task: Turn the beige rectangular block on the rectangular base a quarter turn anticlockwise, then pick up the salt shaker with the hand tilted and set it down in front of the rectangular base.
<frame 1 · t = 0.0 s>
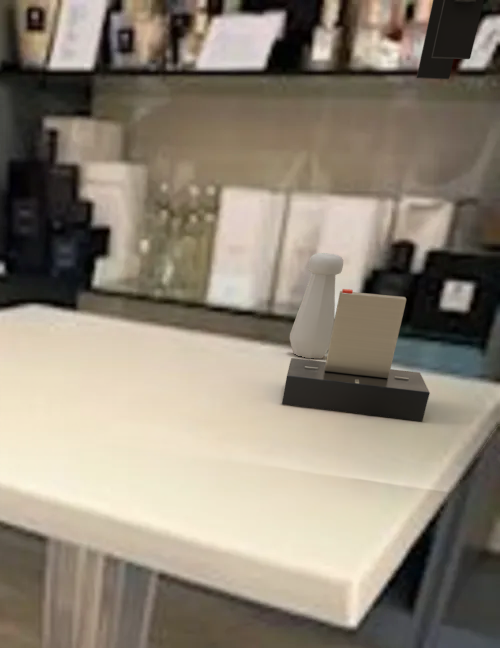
hand: (440, 69, 72), 30 cm above the table, tool pointing down, fingers open, 13 cm apart
salt shaker: (308, 357, 119), on the table
beige rectangular block: (364, 333, 92), point 7 cm above the table, hinge at 0.0°
rectangular base: (349, 401, 95), on the table
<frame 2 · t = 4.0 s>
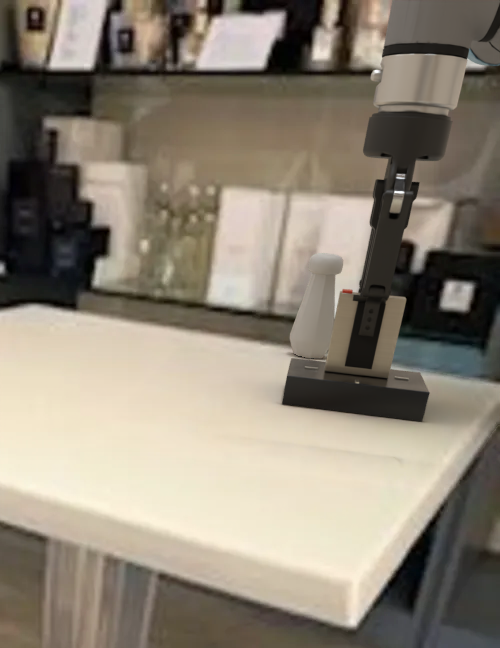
hand: (357, 364, 93), 4 cm above the table, tool pointing down, fingers closed on beige rectangular block, 2 cm apart
beige rectangular block: (364, 333, 92), point 7 cm above the table, hinge at -0.1°, touching gripper
everything else where it was.
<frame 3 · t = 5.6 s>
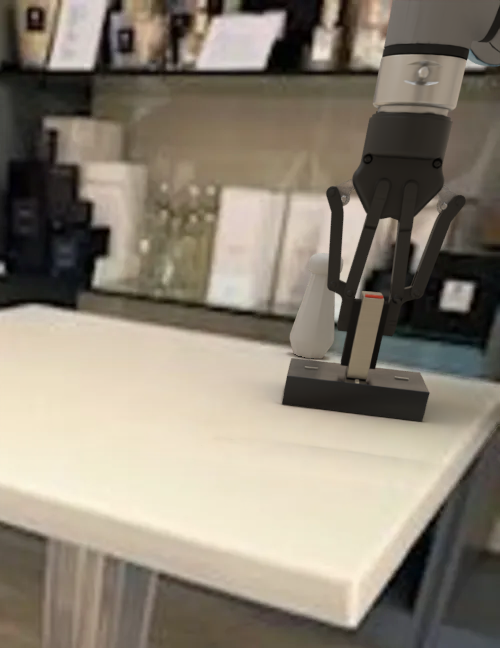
hand: (357, 364, 93), 4 cm above the table, tool pointing down, fingers closed on beige rectangular block, 2 cm apart
beige rectangular block: (364, 333, 92), point 7 cm above the table, hinge at 89.8°, touching gripper
everything else where it was.
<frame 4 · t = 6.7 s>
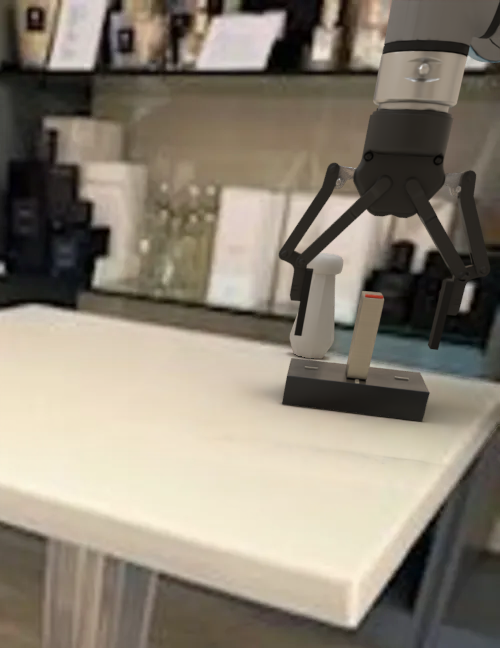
hand: (364, 341, 92), 6 cm above the table, tool pointing down, fingers open, 13 cm apart
beige rectangular block: (364, 333, 92), point 7 cm above the table, hinge at 89.8°
everything else where it was.
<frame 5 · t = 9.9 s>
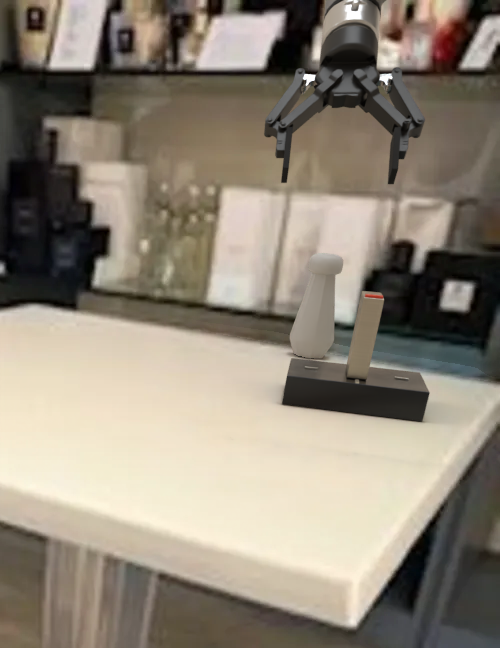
hand: (338, 176, 114), 22 cm above the table, tool tilted 40°, fingers open, 13 cm apart
nothing on the table moved.
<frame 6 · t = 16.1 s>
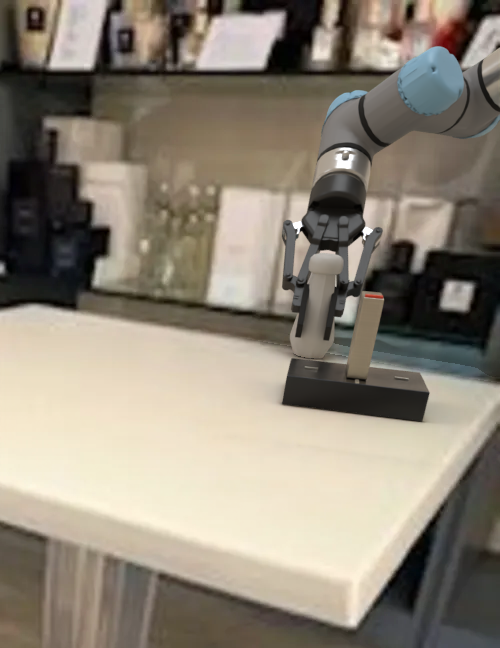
hand: (313, 332, 114), 4 cm above the table, tool tilted 45°, fingers closed on salt shaker, 3 cm apart
salt shaker: (308, 357, 119), on the table, touching gripper
everything else where it was.
when the fingers open (4 cm above the table, at t = 23.8 s): salt shaker stays where it is, on the table.
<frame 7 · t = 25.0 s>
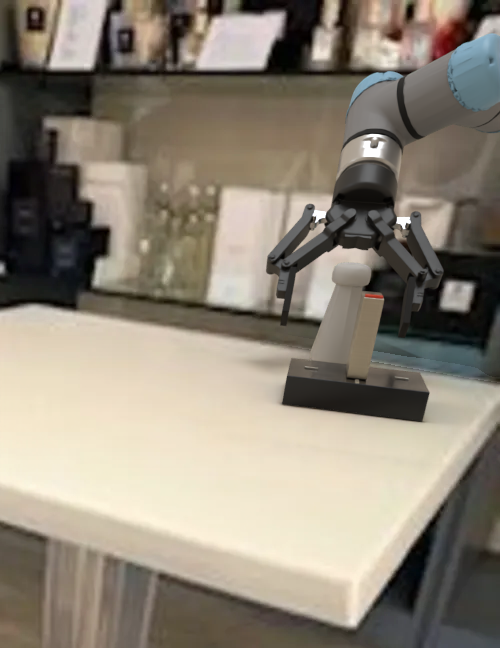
hand: (343, 324, 103), 6 cm above the table, tool tilted 45°, fingers open, 13 cm apart
salt shaker: (330, 377, 107), on the table
everything else where it was.
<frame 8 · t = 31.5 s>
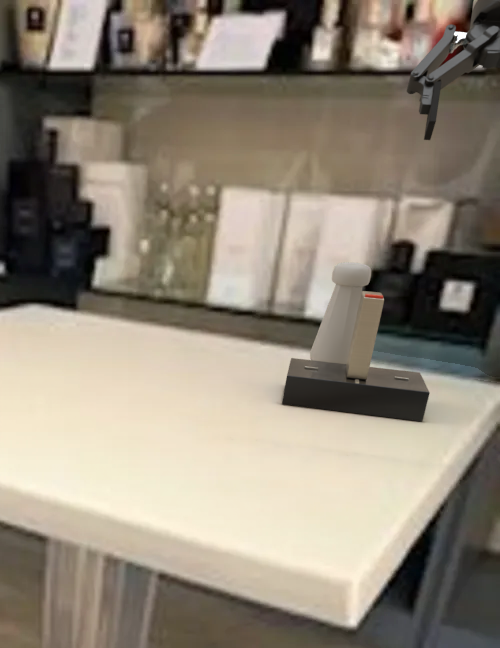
hand: (489, 134, 105), 28 cm above the table, tool tilted 45°, fingers open, 13 cm apart
nothing on the table moved.
at the end: beige rectangular block at +90° (first picture: +0°); salt shaker inside the target area on the table beside the rectangular base (0.0 cm from its centre), on the table; salt shaker tilted 0° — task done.
